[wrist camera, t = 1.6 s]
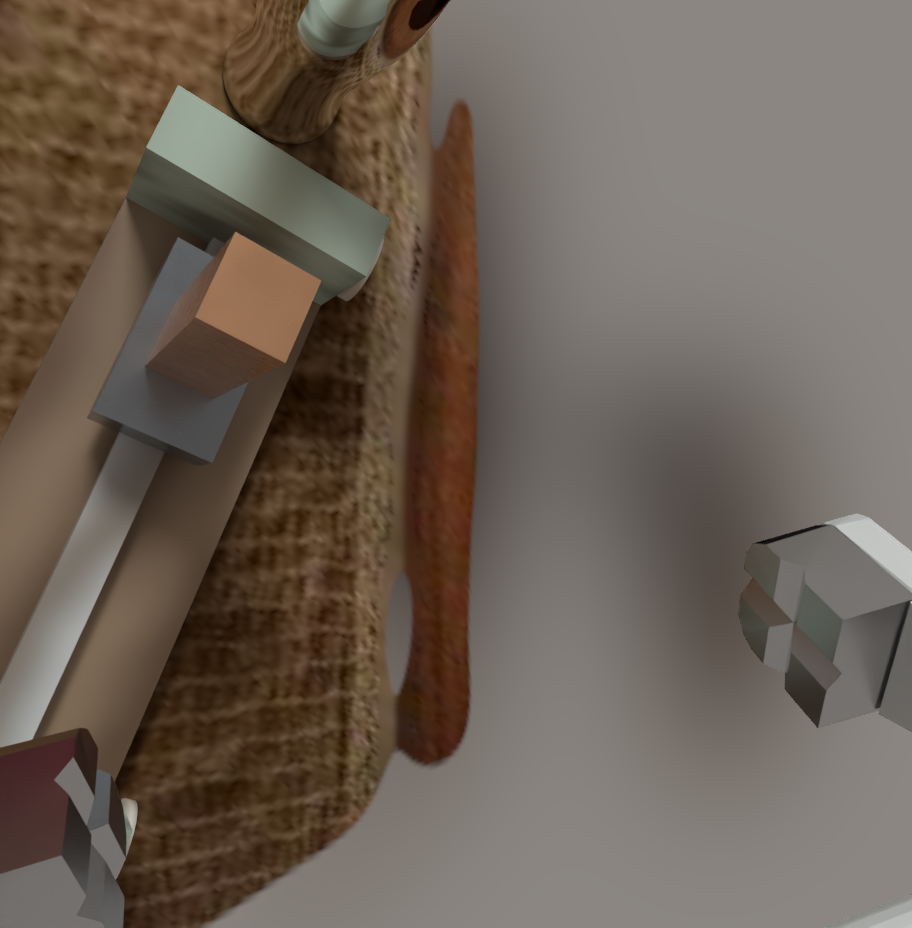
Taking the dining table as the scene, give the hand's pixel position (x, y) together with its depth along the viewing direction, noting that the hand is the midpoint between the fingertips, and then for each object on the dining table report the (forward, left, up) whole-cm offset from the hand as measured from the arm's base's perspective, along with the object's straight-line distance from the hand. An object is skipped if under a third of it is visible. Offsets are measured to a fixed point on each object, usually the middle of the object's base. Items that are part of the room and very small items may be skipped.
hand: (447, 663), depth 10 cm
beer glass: (-2, +25, -32) cm, 41 cm away
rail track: (-1, +3, -32) cm, 32 cm away
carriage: (-1, +9, -29) cm, 30 cm away
